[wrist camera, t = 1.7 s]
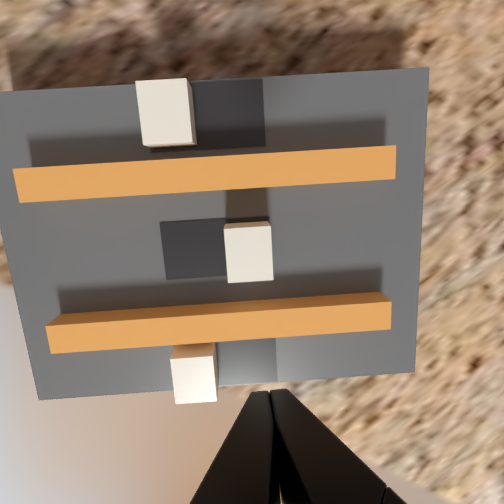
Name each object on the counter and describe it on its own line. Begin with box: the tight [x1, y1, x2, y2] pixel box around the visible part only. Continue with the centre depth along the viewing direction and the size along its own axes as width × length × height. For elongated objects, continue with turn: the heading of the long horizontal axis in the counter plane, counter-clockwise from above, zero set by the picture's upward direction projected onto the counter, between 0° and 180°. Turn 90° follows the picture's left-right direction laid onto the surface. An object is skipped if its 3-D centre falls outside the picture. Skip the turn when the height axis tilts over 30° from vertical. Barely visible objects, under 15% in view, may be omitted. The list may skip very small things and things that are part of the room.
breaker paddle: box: [224, 221, 274, 283], centre depth 16 cm, size 2×2×2 cm
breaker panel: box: [0, 67, 429, 404], centre depth 17 cm, size 20×15×5 cm
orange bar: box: [13, 145, 396, 203], centre depth 15 cm, size 16×1×1 cm, turn 94°
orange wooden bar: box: [45, 292, 392, 354], centre depth 17 cm, size 16×1×1 cm, turn 94°
